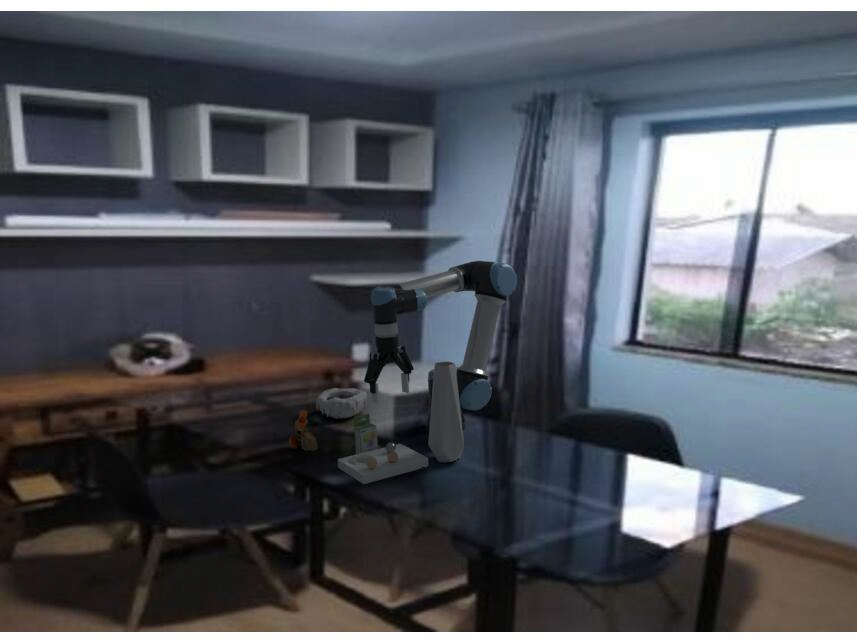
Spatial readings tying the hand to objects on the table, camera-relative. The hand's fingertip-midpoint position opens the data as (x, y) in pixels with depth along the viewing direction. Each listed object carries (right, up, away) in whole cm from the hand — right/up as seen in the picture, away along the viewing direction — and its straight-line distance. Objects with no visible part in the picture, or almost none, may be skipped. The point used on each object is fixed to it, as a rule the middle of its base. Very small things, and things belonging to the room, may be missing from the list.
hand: (391, 397), depth 260 cm
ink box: (-9, -21, +10) cm, 25 cm away
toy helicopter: (-30, -21, +14) cm, 40 cm away
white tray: (-2, -23, -3) cm, 23 cm away
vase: (+20, -21, +1) cm, 29 cm away
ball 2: (+1, -19, -8) cm, 20 cm away
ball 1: (-6, -20, -12) cm, 24 cm away
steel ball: (0, -17, +1) cm, 17 cm away
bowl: (-22, -13, +55) cm, 60 cm away
